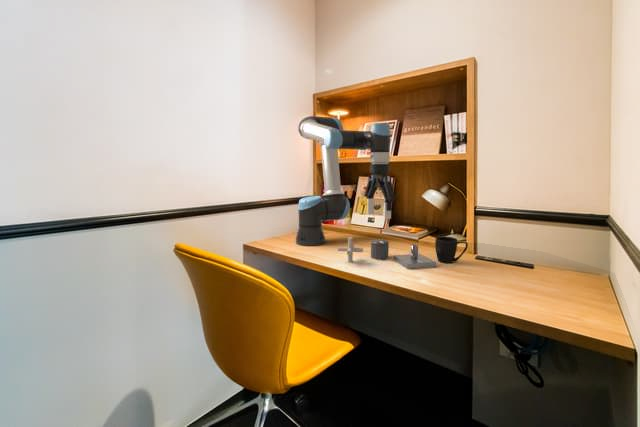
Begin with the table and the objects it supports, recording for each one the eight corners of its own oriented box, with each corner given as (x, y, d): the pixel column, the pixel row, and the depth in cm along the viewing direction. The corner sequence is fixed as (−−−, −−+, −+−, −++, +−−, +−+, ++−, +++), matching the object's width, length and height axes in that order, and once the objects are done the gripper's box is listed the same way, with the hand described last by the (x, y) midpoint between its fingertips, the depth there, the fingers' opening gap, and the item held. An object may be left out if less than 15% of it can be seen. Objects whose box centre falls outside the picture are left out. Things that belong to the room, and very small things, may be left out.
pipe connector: (361, 266, 124) (362, 241, 122) (336, 264, 126) (336, 240, 124) (363, 258, 133) (363, 235, 132) (339, 257, 135) (340, 234, 134)
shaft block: (393, 259, 131) (393, 242, 130) (419, 258, 134) (420, 240, 133) (407, 269, 120) (407, 249, 119) (435, 266, 122) (436, 247, 121)
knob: (368, 255, 138) (368, 239, 137) (384, 254, 140) (384, 238, 138) (374, 260, 131) (375, 243, 130) (391, 259, 133) (391, 242, 131)
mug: (465, 267, 121) (467, 243, 120) (432, 262, 127) (434, 239, 126) (467, 261, 128) (468, 238, 127) (436, 257, 134) (437, 235, 133)
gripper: (357, 163, 136) (356, 212, 139) (388, 163, 113) (386, 221, 116) (372, 163, 139) (371, 211, 142) (406, 163, 115) (404, 220, 119)
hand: (378, 216), depth 129 cm, fingers open, 13 cm apart
